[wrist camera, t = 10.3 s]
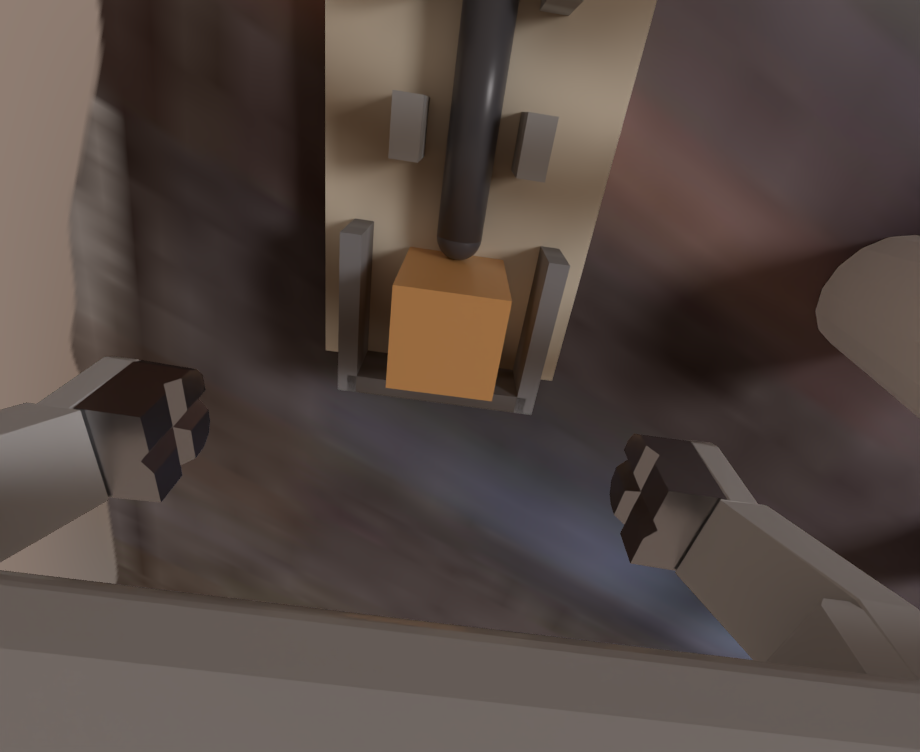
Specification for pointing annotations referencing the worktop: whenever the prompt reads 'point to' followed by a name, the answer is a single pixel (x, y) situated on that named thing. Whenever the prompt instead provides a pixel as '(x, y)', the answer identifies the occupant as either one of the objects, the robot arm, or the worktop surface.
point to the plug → (459, 233)
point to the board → (513, 177)
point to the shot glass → (878, 314)
